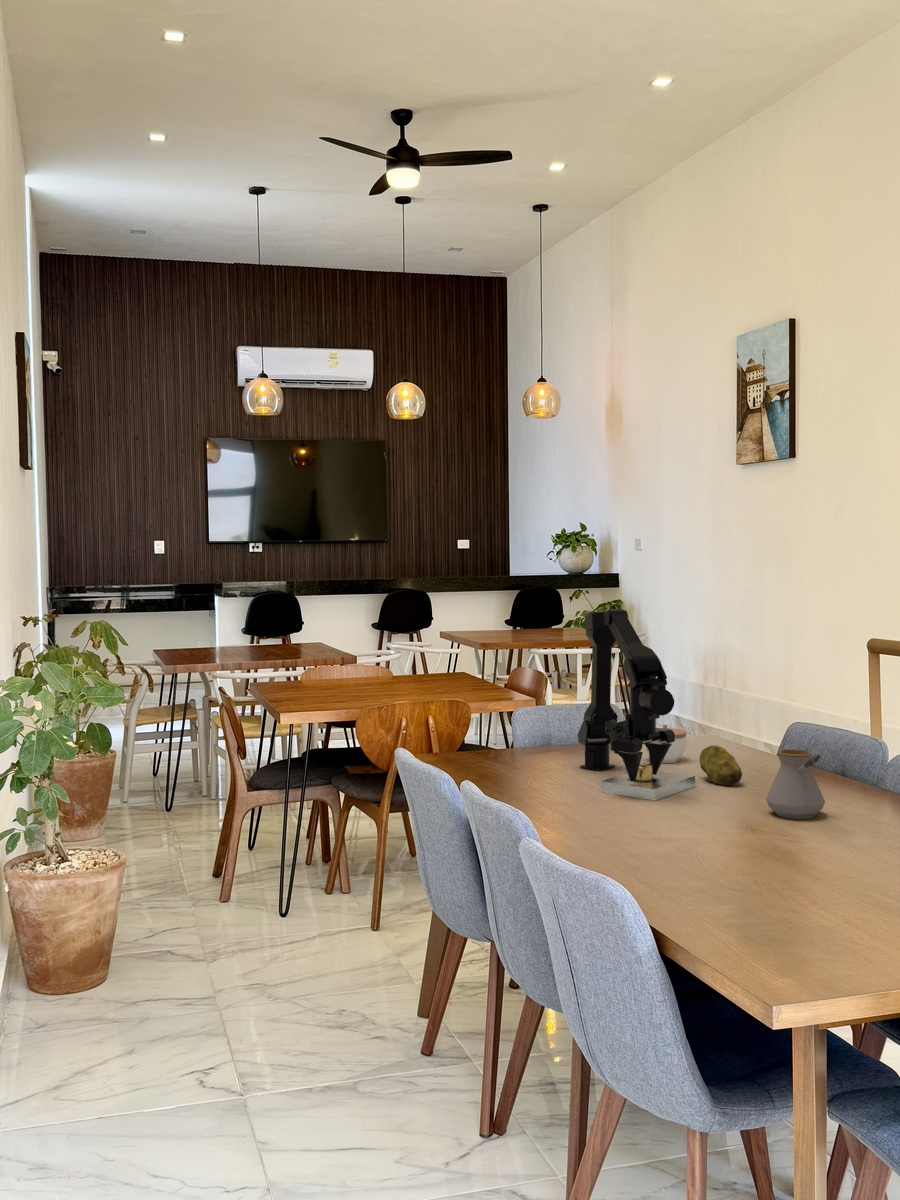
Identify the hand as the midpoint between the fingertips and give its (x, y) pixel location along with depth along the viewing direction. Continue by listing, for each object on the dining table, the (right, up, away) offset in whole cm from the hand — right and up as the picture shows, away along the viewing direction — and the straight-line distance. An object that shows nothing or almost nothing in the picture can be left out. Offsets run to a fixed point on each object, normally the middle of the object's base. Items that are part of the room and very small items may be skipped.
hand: (643, 777), depth 246 cm
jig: (+1, -3, +2) cm, 4 cm away
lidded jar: (+12, -2, +35) cm, 37 cm away
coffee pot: (+27, -4, -29) cm, 39 cm away
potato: (+19, -3, +8) cm, 21 cm away
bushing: (0, -3, 0) cm, 3 cm away
